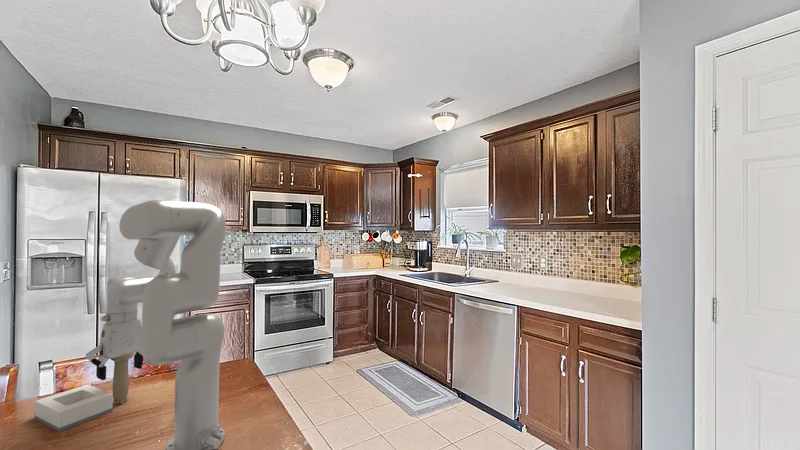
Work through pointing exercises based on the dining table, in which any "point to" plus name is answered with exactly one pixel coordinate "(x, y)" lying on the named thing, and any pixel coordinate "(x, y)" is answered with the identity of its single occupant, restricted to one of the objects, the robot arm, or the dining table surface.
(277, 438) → the dining table surface
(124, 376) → the handle
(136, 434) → the dining table surface
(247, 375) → the dining table surface
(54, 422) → the socket stand
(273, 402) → the dining table surface
